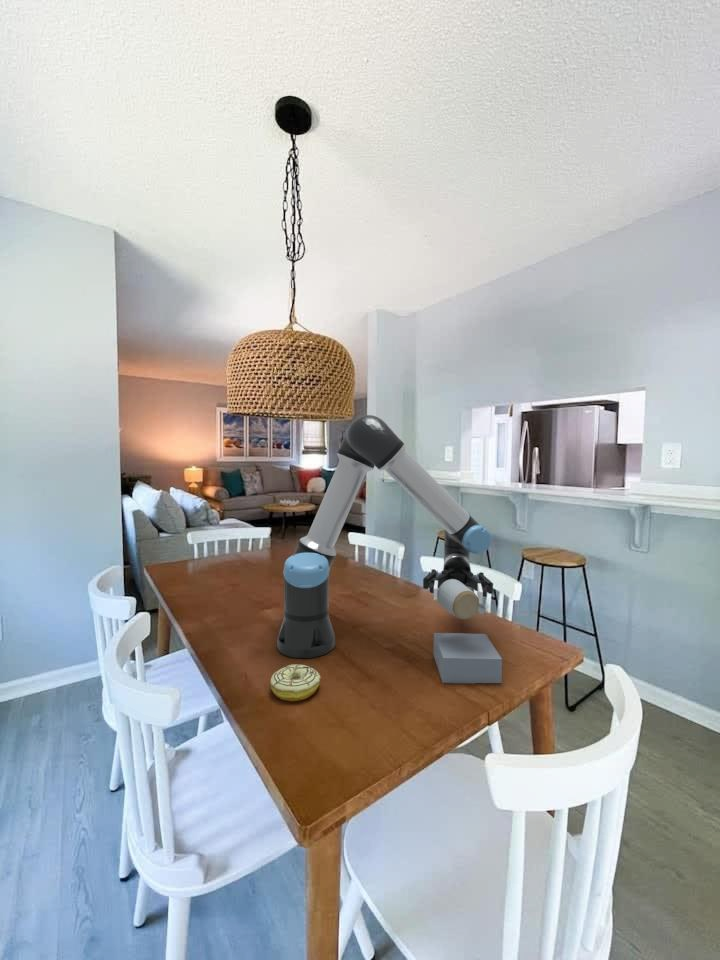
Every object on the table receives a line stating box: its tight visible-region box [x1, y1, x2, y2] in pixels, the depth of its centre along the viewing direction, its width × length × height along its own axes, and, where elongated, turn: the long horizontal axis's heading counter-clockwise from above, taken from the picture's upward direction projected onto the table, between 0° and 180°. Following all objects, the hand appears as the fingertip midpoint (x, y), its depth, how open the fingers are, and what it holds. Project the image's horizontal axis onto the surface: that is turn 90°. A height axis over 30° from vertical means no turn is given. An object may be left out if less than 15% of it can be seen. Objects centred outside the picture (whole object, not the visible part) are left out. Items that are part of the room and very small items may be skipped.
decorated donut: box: [270, 663, 321, 702], centre depth 89 cm, size 10×11×4 cm
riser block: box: [433, 632, 503, 684], centre depth 98 cm, size 13×13×6 cm
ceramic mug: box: [437, 579, 487, 620], centre depth 99 cm, size 11×8×8 cm
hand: (457, 596), depth 95 cm, fingers closed on ceramic mug, 9 cm apart
